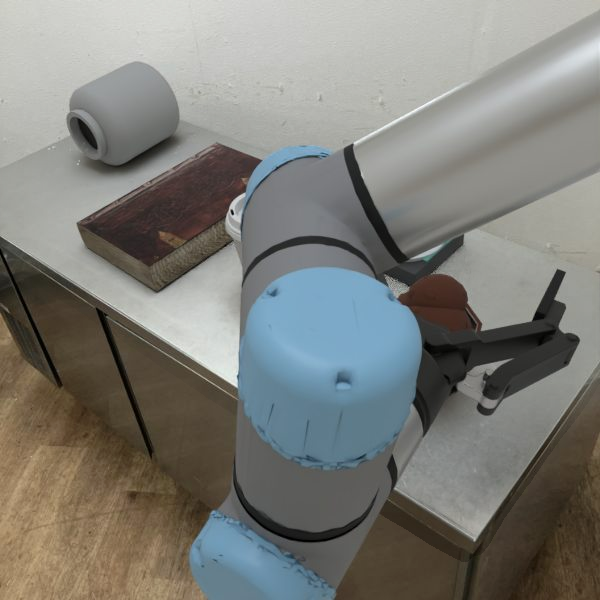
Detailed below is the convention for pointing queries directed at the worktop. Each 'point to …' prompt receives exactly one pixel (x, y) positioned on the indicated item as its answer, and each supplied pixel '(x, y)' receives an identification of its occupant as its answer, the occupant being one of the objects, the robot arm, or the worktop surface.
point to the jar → (122, 113)
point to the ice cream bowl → (441, 302)
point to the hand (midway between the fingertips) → (480, 253)
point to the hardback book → (171, 217)
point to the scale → (424, 262)
